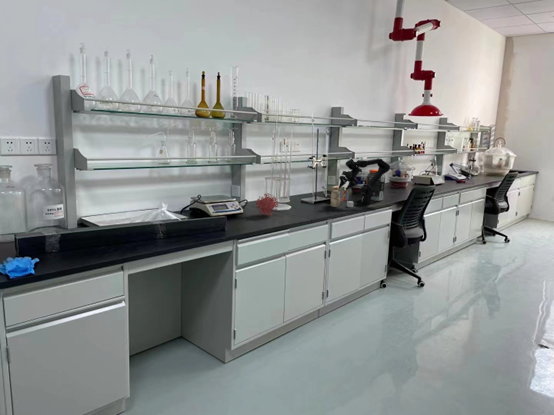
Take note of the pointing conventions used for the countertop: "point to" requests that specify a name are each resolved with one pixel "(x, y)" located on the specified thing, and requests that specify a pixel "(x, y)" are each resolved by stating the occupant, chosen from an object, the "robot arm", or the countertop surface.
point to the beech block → (335, 198)
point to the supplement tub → (377, 185)
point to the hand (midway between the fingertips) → (342, 188)
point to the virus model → (267, 204)
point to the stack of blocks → (341, 192)
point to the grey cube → (350, 204)
